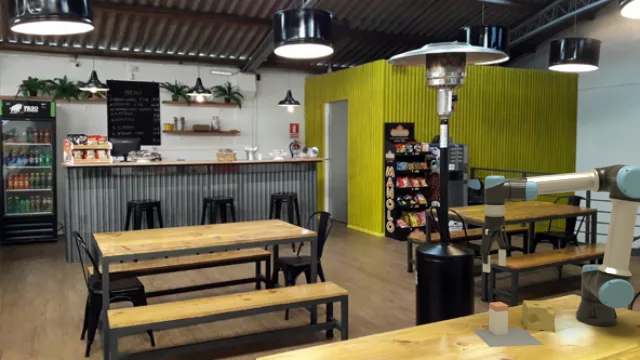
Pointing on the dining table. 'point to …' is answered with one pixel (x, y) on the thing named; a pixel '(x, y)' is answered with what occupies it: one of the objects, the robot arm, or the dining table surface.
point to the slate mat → (507, 338)
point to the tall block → (498, 318)
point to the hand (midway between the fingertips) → (494, 268)
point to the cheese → (538, 315)
